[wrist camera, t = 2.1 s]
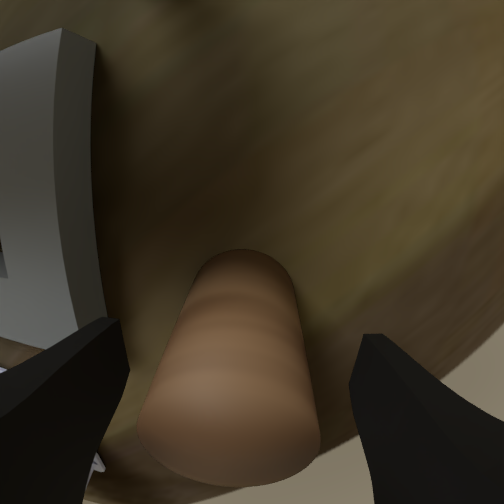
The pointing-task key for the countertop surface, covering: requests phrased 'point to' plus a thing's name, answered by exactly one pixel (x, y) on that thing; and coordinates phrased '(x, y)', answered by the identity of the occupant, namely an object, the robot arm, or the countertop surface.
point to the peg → (234, 379)
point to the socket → (47, 190)
